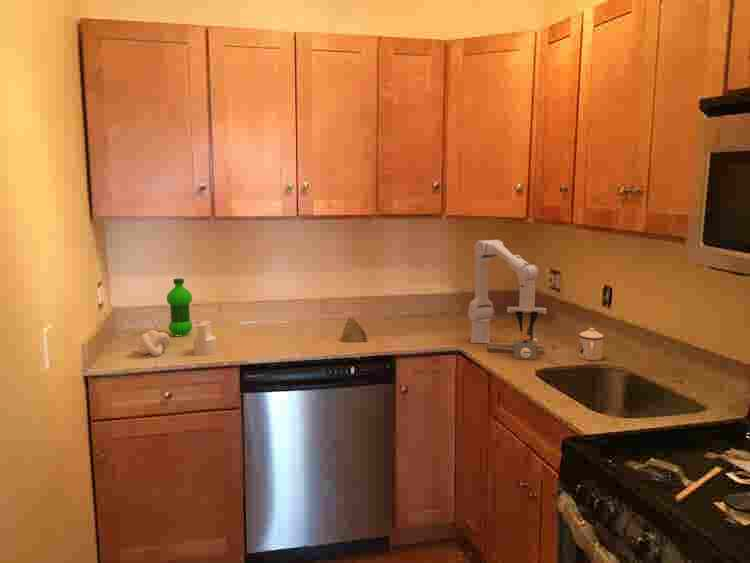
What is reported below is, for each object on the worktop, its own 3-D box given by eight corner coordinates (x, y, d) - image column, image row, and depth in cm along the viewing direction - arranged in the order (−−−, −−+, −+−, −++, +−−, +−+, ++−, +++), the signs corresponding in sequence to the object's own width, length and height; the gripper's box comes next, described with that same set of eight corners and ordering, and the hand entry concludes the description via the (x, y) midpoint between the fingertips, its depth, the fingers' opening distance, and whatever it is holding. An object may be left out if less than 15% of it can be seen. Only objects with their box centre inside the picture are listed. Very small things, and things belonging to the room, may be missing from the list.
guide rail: (489, 345, 256) (489, 342, 256) (541, 347, 253) (542, 344, 253) (489, 346, 255) (489, 343, 254) (542, 348, 251) (542, 345, 251)
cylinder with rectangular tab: (213, 355, 245) (212, 325, 243) (190, 355, 245) (189, 325, 243) (219, 349, 254) (218, 320, 252) (197, 349, 254) (196, 320, 252)
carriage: (521, 344, 256) (522, 325, 255) (536, 345, 255) (537, 326, 254) (522, 348, 250) (523, 329, 249) (537, 348, 249) (538, 329, 248)
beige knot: (129, 355, 245) (128, 333, 244) (153, 348, 255) (152, 327, 254) (150, 359, 240) (149, 336, 238) (174, 352, 250) (173, 330, 249)
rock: (373, 334, 271) (354, 328, 276) (368, 321, 265) (349, 315, 270) (360, 353, 265) (341, 346, 270) (355, 340, 259) (336, 334, 264)
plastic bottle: (168, 333, 281) (165, 278, 277) (193, 331, 285) (190, 277, 281) (168, 338, 272) (165, 281, 268) (193, 336, 275) (191, 280, 271)
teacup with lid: (577, 353, 250) (579, 324, 248) (602, 355, 247) (603, 326, 245) (578, 361, 238) (579, 331, 237) (603, 363, 236) (605, 333, 234)
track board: (487, 346, 260) (487, 342, 260) (542, 348, 257) (542, 345, 256) (487, 352, 251) (488, 348, 251) (544, 354, 248) (544, 350, 248)
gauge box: (513, 354, 248) (514, 339, 247) (534, 355, 247) (535, 340, 246) (514, 359, 241) (515, 344, 240) (536, 360, 240) (536, 344, 239)
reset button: (520, 340, 245) (520, 334, 245) (529, 341, 245) (529, 335, 244) (520, 343, 242) (521, 336, 241) (530, 343, 241) (530, 337, 241)
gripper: (508, 297, 238) (507, 332, 240) (547, 299, 235) (546, 334, 238) (507, 294, 245) (506, 328, 247) (545, 295, 242) (544, 330, 245)
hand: (525, 331), depth 243 cm, fingers open, 3 cm apart
